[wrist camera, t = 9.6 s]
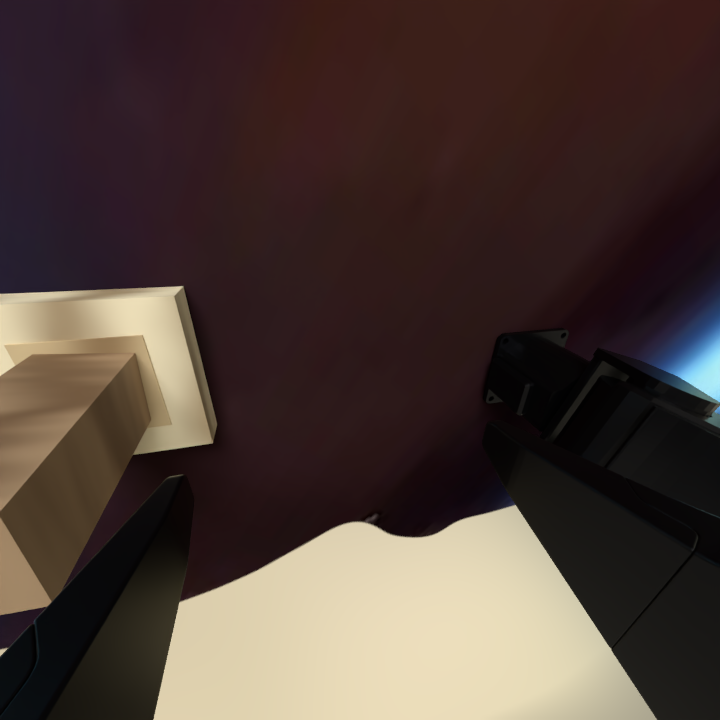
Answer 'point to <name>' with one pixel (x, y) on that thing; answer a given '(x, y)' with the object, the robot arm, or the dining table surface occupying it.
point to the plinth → (122, 350)
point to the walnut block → (60, 463)
